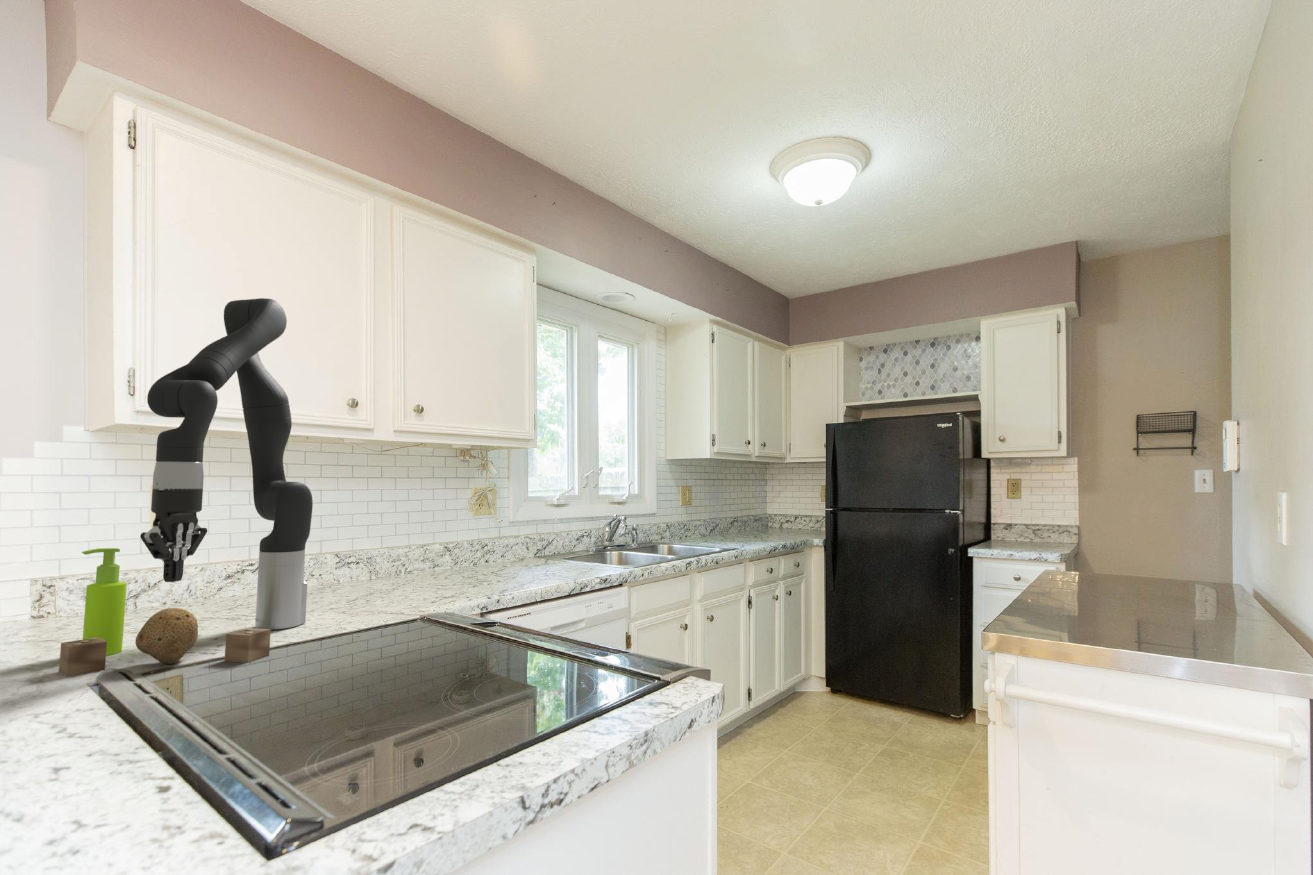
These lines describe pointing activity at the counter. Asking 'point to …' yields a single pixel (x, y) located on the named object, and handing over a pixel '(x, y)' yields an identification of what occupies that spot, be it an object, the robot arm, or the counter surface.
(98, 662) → the walnut block three pips
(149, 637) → the natural sponge
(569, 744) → the counter surface
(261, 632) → the walnut block two pips
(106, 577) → the soap dispenser
